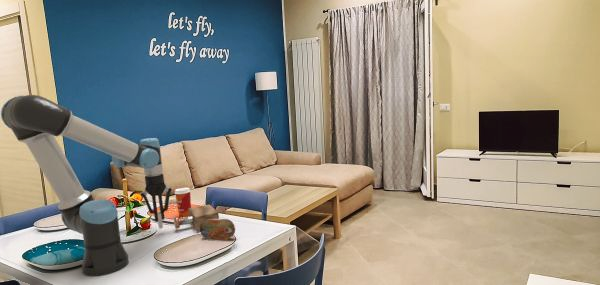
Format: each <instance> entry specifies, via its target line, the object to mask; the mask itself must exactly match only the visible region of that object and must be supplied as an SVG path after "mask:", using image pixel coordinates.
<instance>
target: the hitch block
mask: <svg viewBox="0 0 600 285" xmlns="http://www.w3.org/2000/svg"><path fill="white" fill-rule="evenodd" d="M188 210H189V217H190V216H193V221H194V223H190V225H191V226H192V228H193V230H195V231H196V233H201V232H200V225H201V223H202V222H203V221H205V220H207V219H220V214H219V211H217V210H216V209H215V208H214V207H213V206H212V205H211V204H204V205H199V206H193V207H191V208H188Z"/></svg>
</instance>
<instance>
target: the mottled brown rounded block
mask: <svg viewBox="0 0 600 285" xmlns="http://www.w3.org/2000/svg"><path fill="white" fill-rule="evenodd" d="M199 233H200V234H201V236H202V237H203V238H204V239H206V240H208V241H209V240H211V241H228V240H230V239H232V237H233V236H235V233H236V227H235V224H234V222H233V221H232V220H230V219H228V218H219V219H207V220H205V221H203V222H202V223H201V225H200V232H199Z"/></svg>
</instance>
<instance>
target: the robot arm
mask: <svg viewBox="0 0 600 285" xmlns="http://www.w3.org/2000/svg"><path fill="white" fill-rule="evenodd" d="M0 110H1V111H0V117H1V120H2V122H3V123H4V125H6V126H7V128H9V129H11V131H12V132H13V134H14V136H15V137H16V139H17V141H18V142H22V143H24V144H25V145H26V146H27V148H28V150H29V151H30V153H31V155H32V156H33V158H34V160H35V161H36V163H37V165H38V166H39V168H40V170H41V172H42V173H43V175H44V177H45V178H46V180H47V182H48V183H49V185H50V186H51V189H52V191H53V192H54V194H55V196H56V197H57V199H58V200H59V203H58V206H57V208H58V210H59V212H60V214H61V222H63V224H64V226H65V227H66V228H67V229H69V230H71V231H73V232H75V233H79V234H81V235H82V239H83V245H84V254H83V259H82V263H81V271H82V274H83V275H86V276H91V277H93V276H94V277H95V276H104V275H108V274H111V273H115V272H117V271H120V270H121V269H123V268H125V267H126V266H128V264H129V262H130V261H129V254H128V253H127V251H126V250H125V247H124V245H123V244H122V240H121V233H120V224H119V216H118V214H119V213H118V210H117V209H118V208H117V205H116V204H115V202H114V201H112V200H109V199H95V198H94V196H93V194H92V192H91V191H89V190H86V189H84V187H83V186H82V184H81V182H80V181H79V178H78V177H77V174H76V173H75V171H74V170H73V168H72V166H71V164H70V162H69V160H68V159H67V156H66V155H65V153H64V151H63V150H62V148H61V146H60V145H59V142H58V140H57V139H56V137H60V136H62V137H65V138H66V139H67V138H68V139H69V140H72V141H75V142H78V143H80V144H82V145H85V146H88V147H90V148H92V149H94V150H97V151H100V152H102V153H104V154H107V155H110V156H111V161H112V164H113V165H114V167H116V168H126V167H134V168H142V169H143V174H144V182H145V187H144V190H143V191H141V192H140V196H141V197H142V198H143V200H144V202H145V204H146V207H147V209H148V211H149V213H150V214H152V215H154V216H153V217H154V220H155V222H157V224H158V229H159V230H160V229H163V228H164V225H163V224H164V223H163V221H164V220H165V212H167V211H169V210H168V209H169V203H170V196H171V195H170V194H171V193H172V188H171V187H169V186H167V185H166V184H165V176H164V174H163V173H164V170H163V169H164V168H163V163H162V154H161V146H160V140H159V139H158V138H157V137H153V138H152V137H149V138H144V139H143V138H142V139H140V140H139V144H138V143H135V142H133V141H131V140H129V139H127V138H124V137H122V136H120V135H118V134H116V133H113V132H112V131H109V130H106V129H105V128H102V127H100V126H98V125H96V124H93V123H91V122H89V121H87V120H85V119H83V118H80V117H78V116H75V115H73V114H74V113H73V112H72V110H70V109H69V108H66V107H64V106H62V105H60V104H58V103H55V101H52V100H50V99H48V98H46V97H43V96H41V95H38V94H28V95H18V96H14V97H12V98H10V99H8V100H7V101H6V102H4V103H3V106H2V107H1V109H0ZM164 191H165V199H164V204H163V193H164ZM148 194H149V195H150V196H151V199H152V206H153V208H152V207H151V204H150V201H149V200H148V197H147V195H148ZM157 197H158V204H159V211H158V207H157V205H158V204H157V201H156V200H157V199H156V198H157Z"/></svg>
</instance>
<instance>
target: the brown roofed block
mask: <svg viewBox="0 0 600 285" xmlns="http://www.w3.org/2000/svg"><path fill="white" fill-rule="evenodd" d="M190 223H194V221H193V216H190V217H185V218H180V217H179V215H178V216H173V224H174V228H175V229H176V230H177V229H180V227H181V226H184V225H189V224H190ZM190 225H191V224H190Z"/></svg>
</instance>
